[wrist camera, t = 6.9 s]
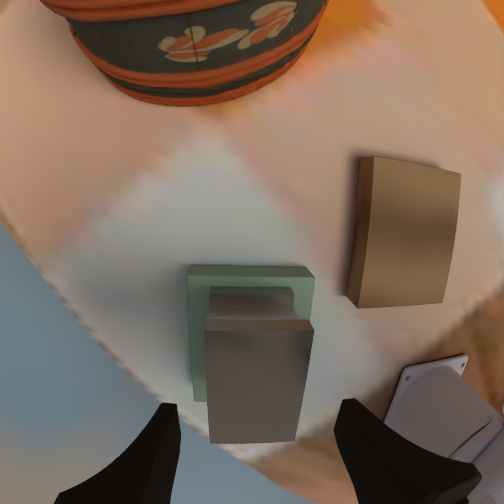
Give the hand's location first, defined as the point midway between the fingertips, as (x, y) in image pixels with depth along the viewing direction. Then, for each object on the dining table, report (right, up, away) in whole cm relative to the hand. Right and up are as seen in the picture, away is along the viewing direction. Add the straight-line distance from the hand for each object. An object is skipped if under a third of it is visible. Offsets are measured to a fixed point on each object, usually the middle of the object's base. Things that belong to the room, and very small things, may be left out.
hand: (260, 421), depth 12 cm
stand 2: (+10, +9, +7) cm, 15 cm away
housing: (-1, +2, +6) cm, 6 cm away
